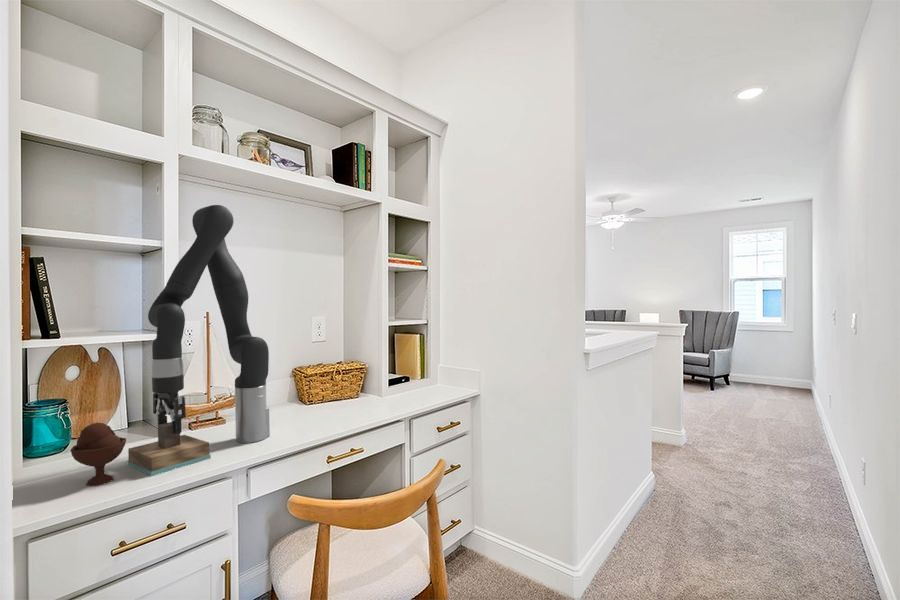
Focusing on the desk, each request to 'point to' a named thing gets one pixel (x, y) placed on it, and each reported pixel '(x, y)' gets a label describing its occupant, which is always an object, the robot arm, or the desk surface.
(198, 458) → the teal mat
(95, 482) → the ice cream bowl
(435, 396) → the desk surface
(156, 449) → the walnut cover
